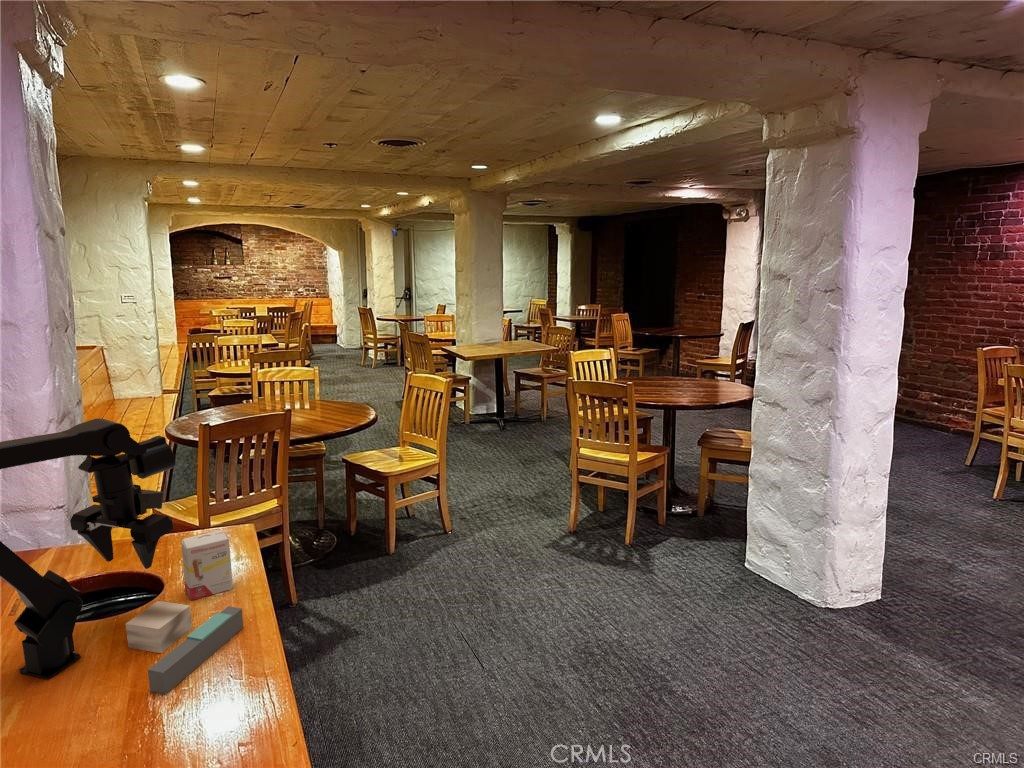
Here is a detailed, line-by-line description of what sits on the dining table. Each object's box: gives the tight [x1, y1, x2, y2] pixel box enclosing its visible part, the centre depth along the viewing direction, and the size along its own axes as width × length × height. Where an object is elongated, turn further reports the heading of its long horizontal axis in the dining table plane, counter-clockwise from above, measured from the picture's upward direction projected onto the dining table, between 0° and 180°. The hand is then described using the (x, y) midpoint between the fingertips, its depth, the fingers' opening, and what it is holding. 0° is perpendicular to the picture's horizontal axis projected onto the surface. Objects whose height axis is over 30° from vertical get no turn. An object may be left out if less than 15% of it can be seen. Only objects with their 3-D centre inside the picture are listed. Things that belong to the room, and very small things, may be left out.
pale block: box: [125, 600, 193, 654], centre depth 123 cm, size 8×7×5 cm
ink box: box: [180, 530, 234, 601], centre depth 139 cm, size 9×5×12 cm, turn 127°
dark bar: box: [147, 606, 244, 695], centre depth 118 cm, size 20×3×4 cm, turn 165°
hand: (129, 564), depth 124 cm, fingers open, 9 cm apart
